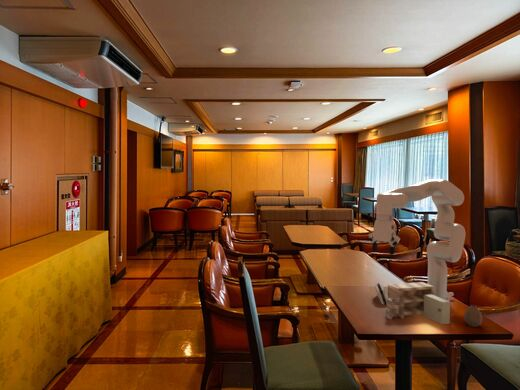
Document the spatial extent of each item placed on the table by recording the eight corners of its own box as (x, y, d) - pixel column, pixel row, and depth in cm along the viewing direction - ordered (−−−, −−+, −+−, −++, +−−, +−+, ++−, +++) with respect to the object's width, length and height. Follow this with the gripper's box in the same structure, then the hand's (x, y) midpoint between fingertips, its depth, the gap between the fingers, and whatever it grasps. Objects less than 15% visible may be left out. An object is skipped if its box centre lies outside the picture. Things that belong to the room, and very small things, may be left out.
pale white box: (430, 314, 182) (431, 294, 182) (449, 323, 171) (450, 301, 170) (421, 315, 181) (422, 294, 181) (440, 324, 169) (441, 302, 169)
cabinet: (421, 307, 193) (422, 282, 192) (437, 315, 182) (438, 288, 181) (376, 311, 185) (376, 284, 185) (390, 319, 174) (391, 291, 174)
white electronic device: (392, 305, 196) (385, 286, 196) (382, 307, 196) (376, 289, 197) (386, 296, 212) (381, 278, 212) (378, 298, 213) (372, 281, 213)
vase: (481, 329, 165) (482, 309, 164) (463, 326, 168) (464, 306, 168) (482, 324, 170) (482, 305, 170) (464, 321, 174) (465, 302, 174)
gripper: (404, 219, 183) (403, 254, 184) (373, 216, 197) (372, 249, 198) (395, 220, 179) (394, 256, 179) (364, 217, 192) (363, 251, 193)
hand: (383, 252), depth 188 cm, fingers open, 9 cm apart
